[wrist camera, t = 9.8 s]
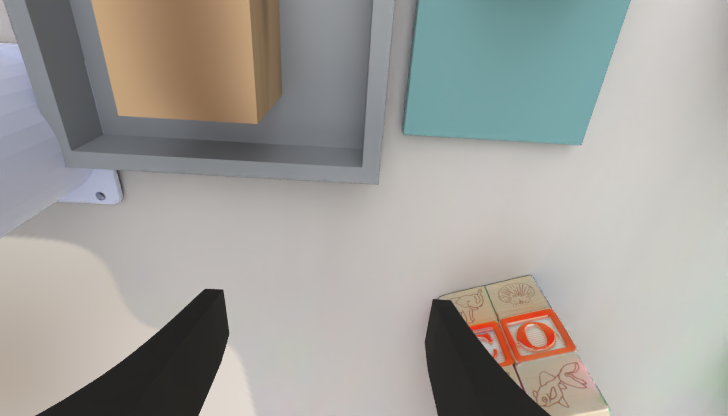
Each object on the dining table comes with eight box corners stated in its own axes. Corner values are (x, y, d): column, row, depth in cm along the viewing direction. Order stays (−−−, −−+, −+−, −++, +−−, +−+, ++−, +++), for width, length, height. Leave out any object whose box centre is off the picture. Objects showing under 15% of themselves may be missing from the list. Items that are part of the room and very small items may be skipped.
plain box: (176, 88, 18) (118, 115, 14) (157, -36, 16) (79, -49, 12) (282, 94, 19) (257, 123, 14) (277, -27, 16) (246, -37, 12)
